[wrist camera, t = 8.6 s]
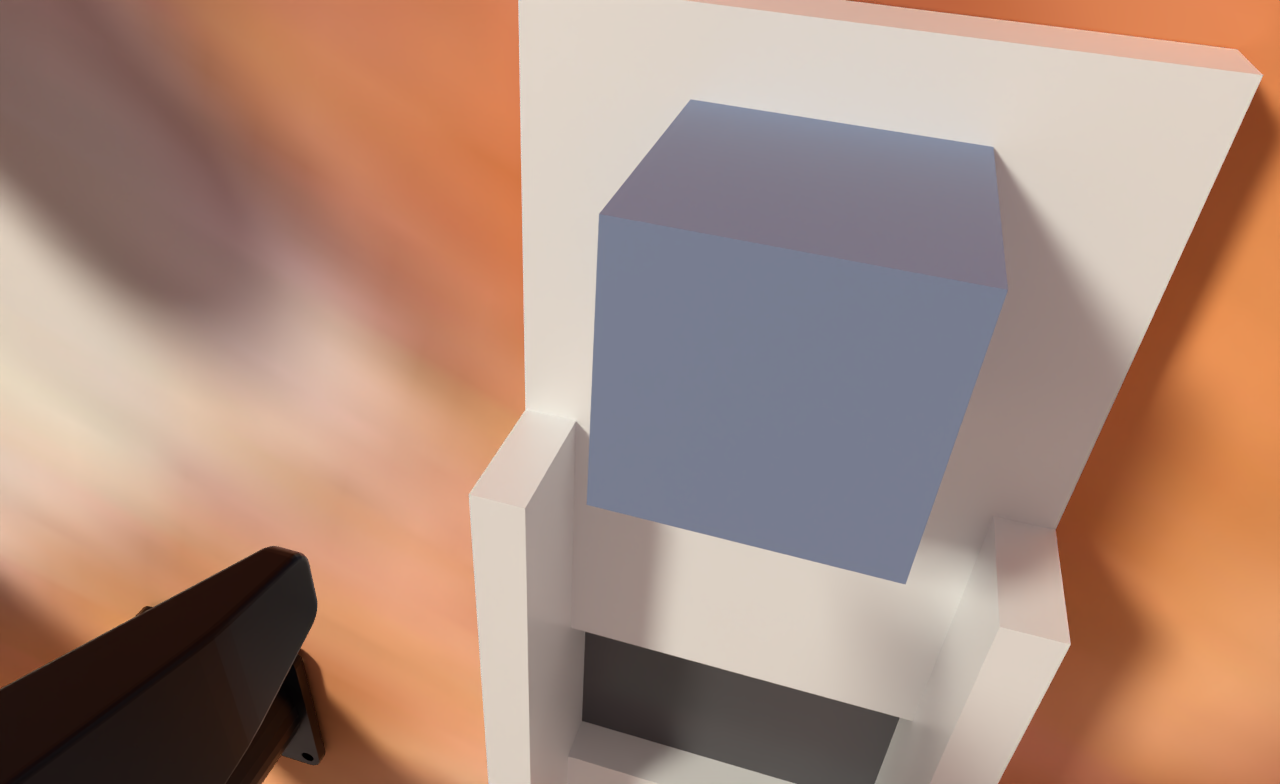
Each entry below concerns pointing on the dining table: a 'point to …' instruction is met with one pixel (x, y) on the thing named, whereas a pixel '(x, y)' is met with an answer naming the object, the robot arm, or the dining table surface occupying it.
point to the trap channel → (983, 451)
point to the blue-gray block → (792, 331)
